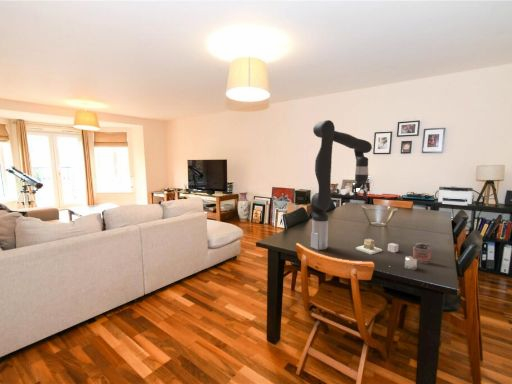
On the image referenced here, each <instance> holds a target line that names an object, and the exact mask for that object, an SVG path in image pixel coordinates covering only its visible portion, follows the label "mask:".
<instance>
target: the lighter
mask: <svg viewBox="0 0 512 384" xmlns="http://www.w3.org/2000/svg"><path fill="white" fill-rule="evenodd" d="M430 247H431V244H430V243H423V242H420V243H418V242H417V243H416V244H415V246H413V247H412V250H413V251H412V252H413V253H412V257H415V258H417V264H419V263H420V264H428V265H429V264H431V256H432V255H431V254H432V248H430Z"/></svg>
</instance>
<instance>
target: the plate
mask: <svg viewBox="0 0 512 384" xmlns="http://www.w3.org/2000/svg"><path fill="white" fill-rule="evenodd" d="M355 250H357V251H360V252H363V253H366V254H368V255H374V254H377V253H380V252H382V251H383V249H382V248H379V247H376V246H374V249H371V250H369V249H366V248H364V244H363V245H360V246H356V247H355Z"/></svg>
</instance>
